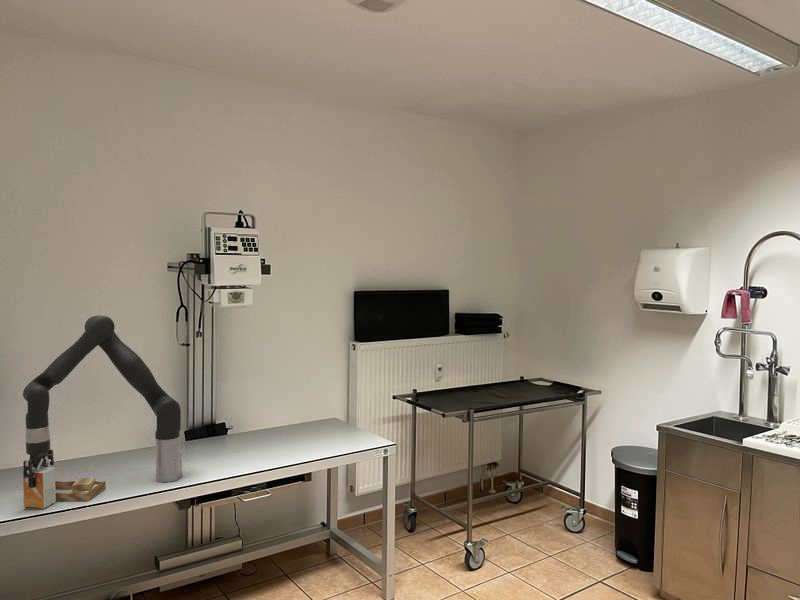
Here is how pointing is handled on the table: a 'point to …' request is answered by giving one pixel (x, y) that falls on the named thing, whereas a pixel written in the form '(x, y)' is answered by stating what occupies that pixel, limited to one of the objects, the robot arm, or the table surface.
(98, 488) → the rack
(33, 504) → the small box
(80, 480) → the offcut top
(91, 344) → the robot arm
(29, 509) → the mat
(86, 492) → the offcut bottom
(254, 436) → the table surface
